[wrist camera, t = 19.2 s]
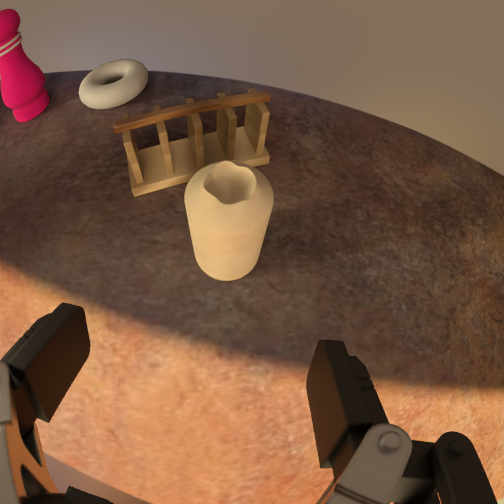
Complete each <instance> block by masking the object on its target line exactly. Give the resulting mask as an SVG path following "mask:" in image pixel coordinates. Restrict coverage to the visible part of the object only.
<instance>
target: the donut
mask: <svg viewBox="0 0 504 504" xmlns="http://www.w3.org/2000/svg"><path fill="white" fill-rule="evenodd" d="M113 82H114V83H113ZM147 82H148V70H147V68H146V67H145V66H144V65H143V64H142V63H140V62H138V61H136V60H131V59H122V60H116V61H112V62H108V63H106V64H103V65H101V66H99V67H97V68H96V69H94V70H93V71H91V72H90V73H89V74H88V75H87V76H86V77H85V78H84V80H83V81H82V83H81V85H80V89H79V96H80V99H81V101H82V103H84V104H85V105H87V106H88V107H89V108H94V109H109V108H113V107H117V106H120V105H122V104H124V103H127V102H129V101H130V100H132V99H133V98H135V97H136V96H137V95H138V94H139V93H140V92H141V91H142V90H143V89H144V88H145V86H146V84H147ZM110 83H111V84H110Z"/></svg>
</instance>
